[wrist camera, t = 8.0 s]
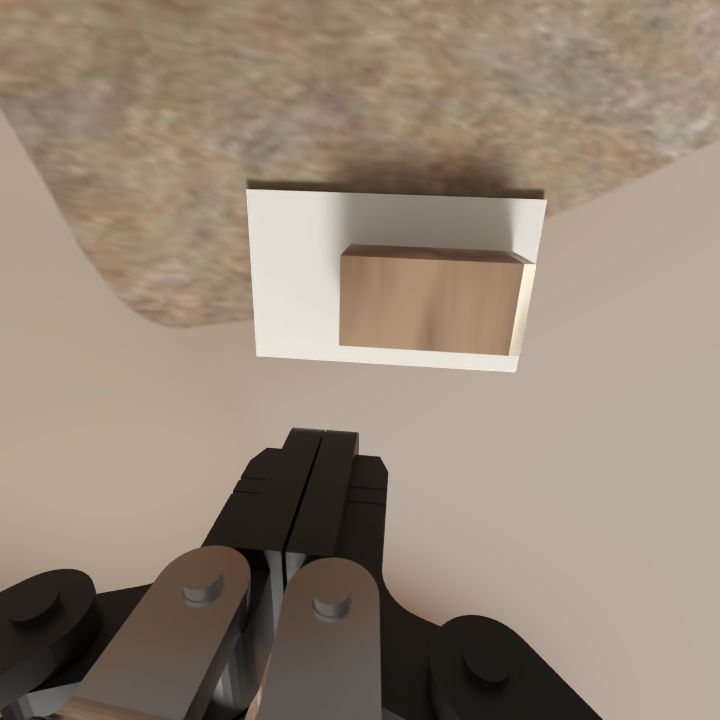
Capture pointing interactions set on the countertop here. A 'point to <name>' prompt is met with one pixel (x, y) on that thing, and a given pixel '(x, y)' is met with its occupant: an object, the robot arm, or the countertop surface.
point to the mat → (366, 227)
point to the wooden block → (434, 299)
